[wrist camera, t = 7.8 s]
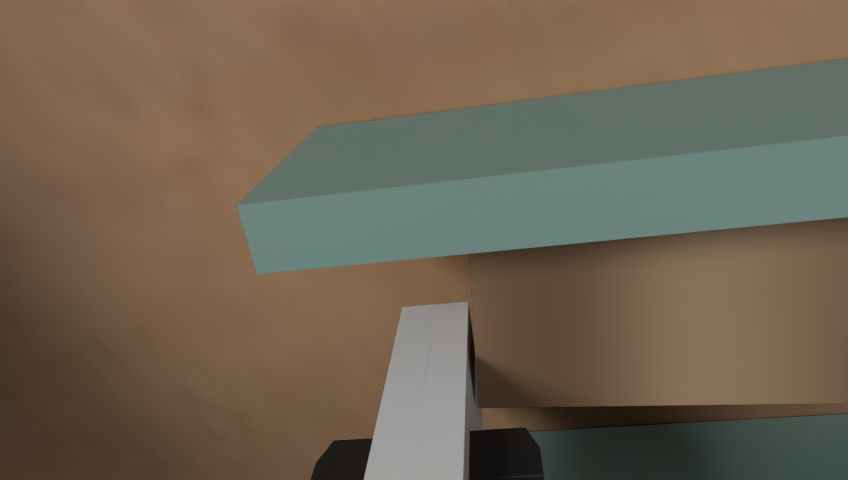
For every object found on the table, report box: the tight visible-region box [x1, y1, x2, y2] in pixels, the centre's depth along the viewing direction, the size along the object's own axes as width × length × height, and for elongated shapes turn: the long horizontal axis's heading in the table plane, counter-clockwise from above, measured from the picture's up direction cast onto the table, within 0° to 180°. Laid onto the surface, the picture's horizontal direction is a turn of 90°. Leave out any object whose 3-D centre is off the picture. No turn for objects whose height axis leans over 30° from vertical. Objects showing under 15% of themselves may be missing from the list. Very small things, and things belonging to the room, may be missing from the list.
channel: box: [237, 59, 848, 480], centre depth 12 cm, size 18×10×5 cm, turn 98°
